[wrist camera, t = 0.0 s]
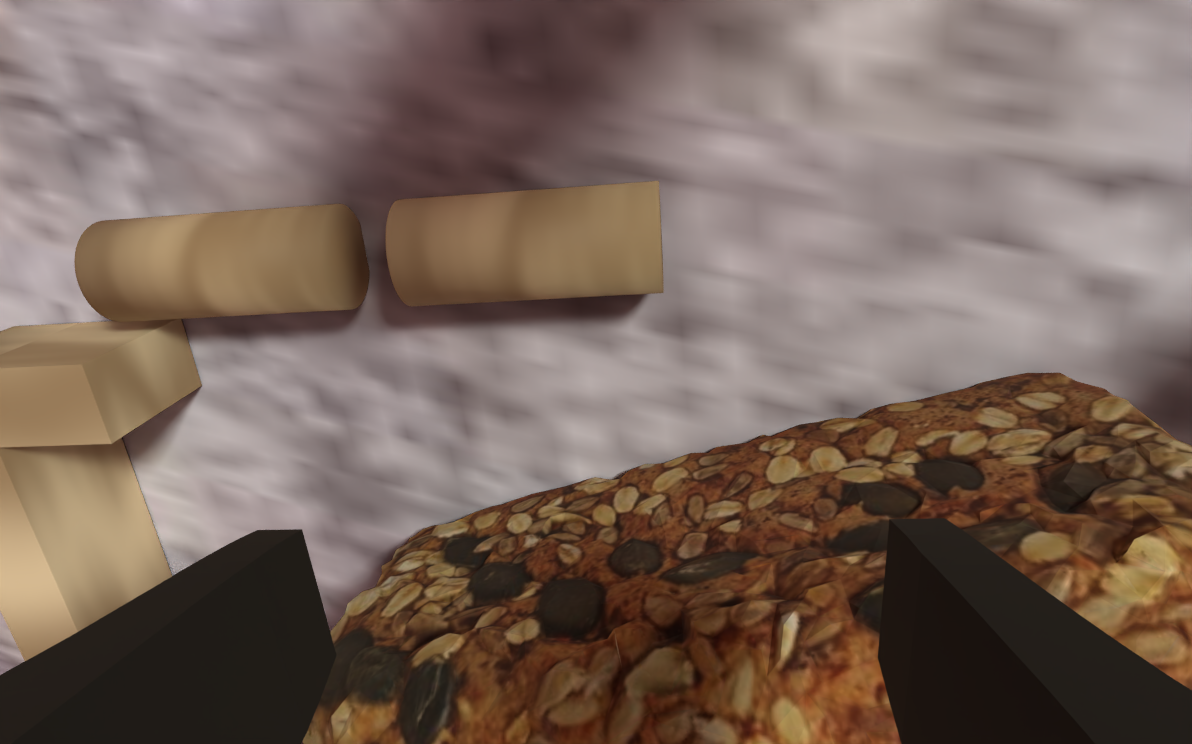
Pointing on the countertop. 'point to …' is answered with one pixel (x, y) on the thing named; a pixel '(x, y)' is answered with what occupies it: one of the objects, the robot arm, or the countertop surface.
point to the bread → (760, 577)
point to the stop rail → (79, 469)
